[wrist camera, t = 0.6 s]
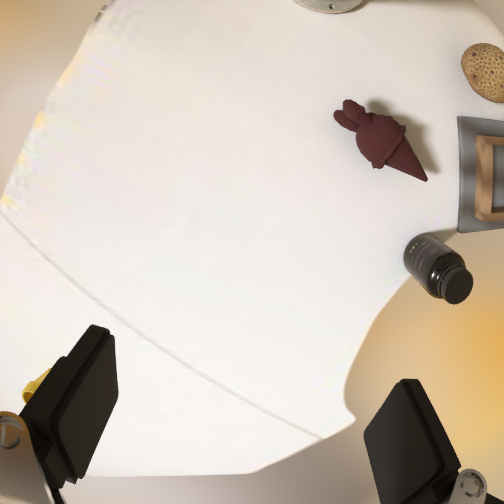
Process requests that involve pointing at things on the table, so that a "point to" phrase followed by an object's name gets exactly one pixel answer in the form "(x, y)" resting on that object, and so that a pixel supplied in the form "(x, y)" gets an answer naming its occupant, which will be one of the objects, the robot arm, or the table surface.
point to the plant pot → (32, 387)
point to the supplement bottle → (438, 269)
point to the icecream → (380, 139)
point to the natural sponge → (485, 71)
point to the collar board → (480, 174)
